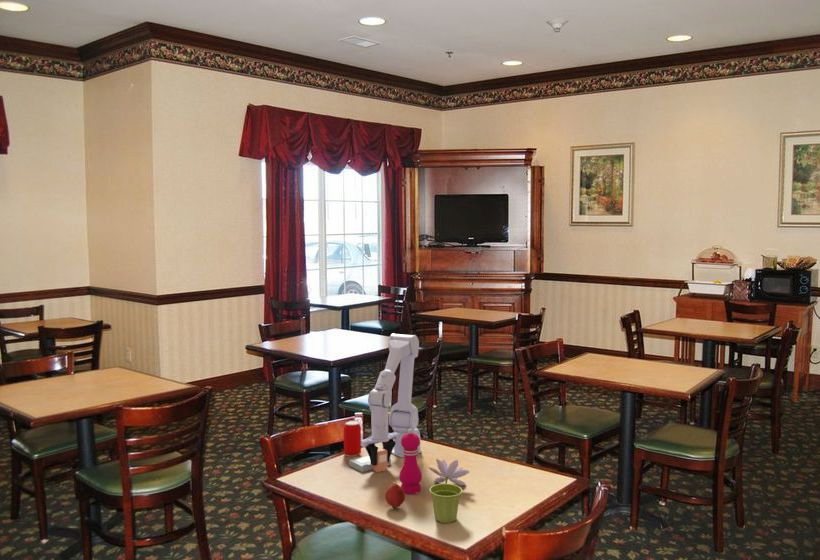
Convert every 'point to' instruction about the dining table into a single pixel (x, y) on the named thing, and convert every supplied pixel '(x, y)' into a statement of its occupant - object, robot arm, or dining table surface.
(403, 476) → the pepper mill
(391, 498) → the onion
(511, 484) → the dining table surface
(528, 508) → the dining table surface
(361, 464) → the pad
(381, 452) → the stub tab
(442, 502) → the plant pot
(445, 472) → the water lily
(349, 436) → the beverage can
